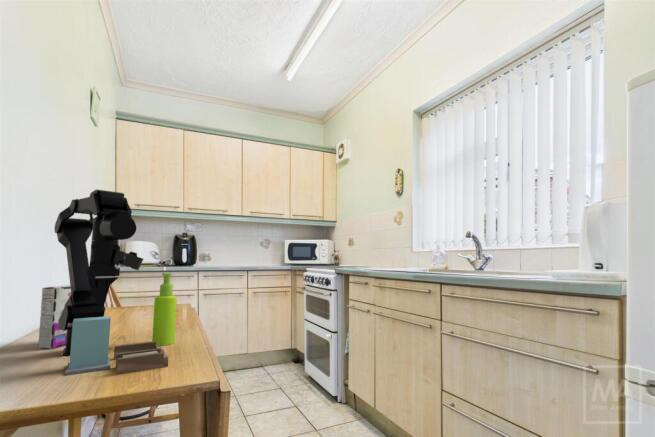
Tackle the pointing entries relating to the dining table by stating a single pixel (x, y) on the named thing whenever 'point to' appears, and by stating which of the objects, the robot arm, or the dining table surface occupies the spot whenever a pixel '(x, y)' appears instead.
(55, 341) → the candy bar box
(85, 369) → the slate mat
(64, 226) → the robot arm
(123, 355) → the gray notched block
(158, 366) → the walnut rack
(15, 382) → the dining table surface
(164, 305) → the soap dispenser
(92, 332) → the light blue rectangular prism
